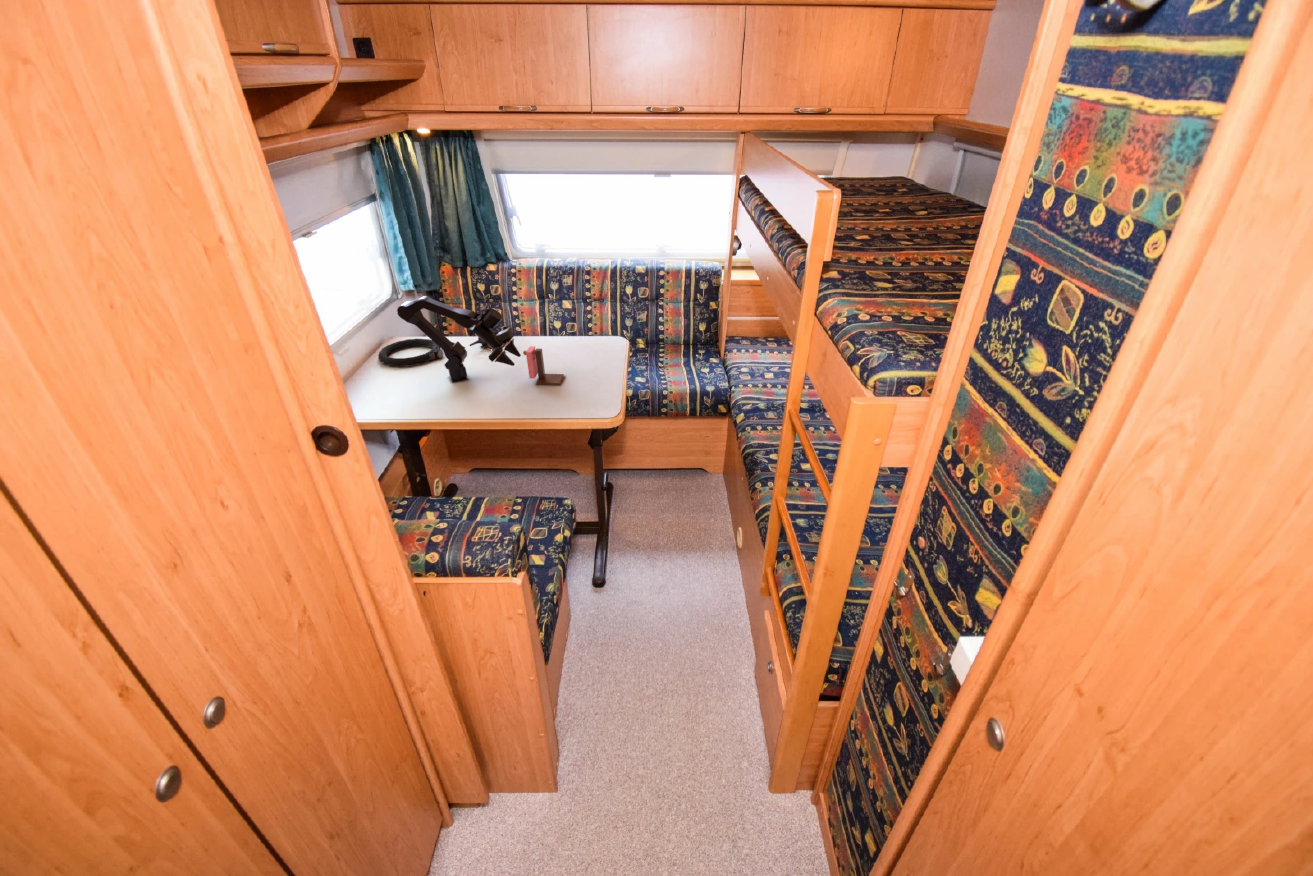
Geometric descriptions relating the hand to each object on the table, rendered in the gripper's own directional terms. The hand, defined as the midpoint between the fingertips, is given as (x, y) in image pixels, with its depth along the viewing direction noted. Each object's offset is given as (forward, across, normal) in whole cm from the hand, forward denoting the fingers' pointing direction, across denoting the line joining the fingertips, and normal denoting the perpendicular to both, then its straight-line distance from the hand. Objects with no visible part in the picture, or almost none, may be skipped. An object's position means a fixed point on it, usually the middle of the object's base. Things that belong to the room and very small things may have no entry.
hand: (517, 360), depth 246 cm
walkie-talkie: (-12, +36, +26) cm, 46 cm away
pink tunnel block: (+9, 0, 0) cm, 9 cm away
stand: (+13, 0, -1) cm, 13 cm away
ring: (-34, +23, +48) cm, 63 cm away
